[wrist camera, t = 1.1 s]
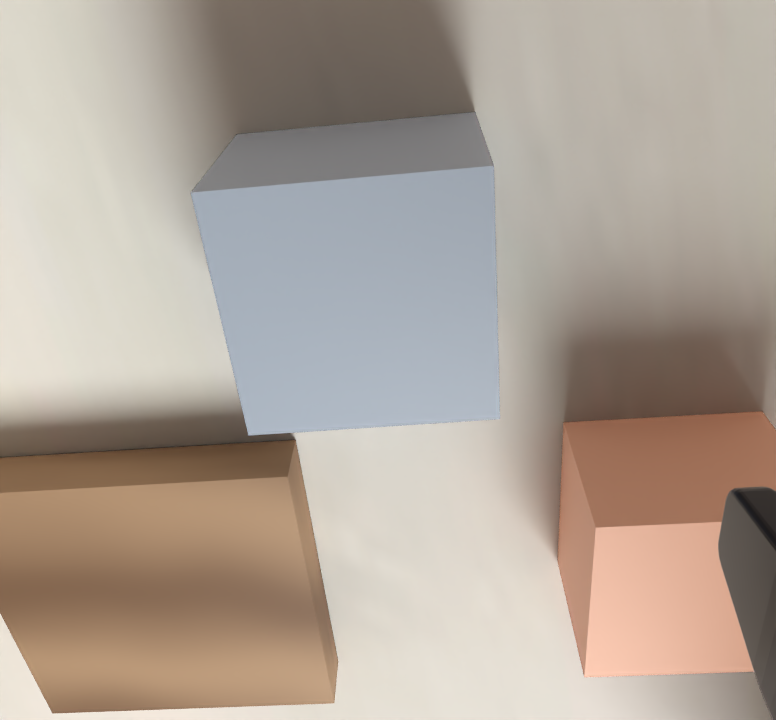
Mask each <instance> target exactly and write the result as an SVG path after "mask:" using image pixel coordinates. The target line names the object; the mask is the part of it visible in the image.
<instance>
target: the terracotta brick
mask: <svg viewBox="0 0 776 720" xmlns="http://www.w3.org/2000/svg"><path fill="white" fill-rule="evenodd" d="M762 486H763V487H769V488H771V489H773V490H775V491H776V430H775V428H774V427H773V426H772V424H771V423H770V421H769V420H768V419H767V417H766V416H765V414H764V413H763V412H762V411H758V412H740V413H722V414H705V415H687V416H669V417H651V418H633V419H615V420H597V421H579V422H563V446H562V469H561V493H560V516H559V540H558V565H559V570H560V574H561V578H562V583H563V587H564V591H565V596H566V600H567V604H568V609H569V613H570V617H571V621H572V626H573V630H574V634H575V639H576V643H577V647H578V652H579V656H580V660H581V665H582V669H583V673H584V677H609V676H639V675H669V674H699V673H728V672H754V670H753V667H752V663H751V660H750V657H749V654H748V651H747V647H746V644H745V641H744V638H743V634H742V631H741V628H740V625H739V622H738V618H737V615H736V612H735V609H734V605H733V602H732V599H731V596H730V592H729V589H728V586H727V583H726V580H725V576H724V573H723V570H722V567H721V563H720V559H719V553H718V540H719V534H720V529H721V523H722V518H723V512H724V507H725V501H726V497H727V495H728V493H729V491H731V490H732V489H734V488H743V487H762Z"/></svg>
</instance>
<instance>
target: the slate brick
mask: <svg viewBox="0 0 776 720" xmlns="http://www.w3.org/2000/svg"><path fill="white" fill-rule="evenodd" d="M191 196H192V200H193V205H194V209H195V213H196V217H197V221H198V226H199V230H200V234H201V238H202V242H203V247H204V251H205V255H206V259H207V263H208V268H209V272H210V276H211V280H212V284H213V289H214V293H215V297H216V301H217V305H218V310H219V314H220V318H221V322H222V326H223V331H224V335H225V339H226V343H227V347H228V352H229V356H230V360H231V364H232V368H233V373H234V377H235V381H236V385H237V390H238V394H239V398H240V402H241V406H242V411H243V415H244V419H245V423H246V427H247V432H248V436H249V435H264V434H279V433H295V432H310V431H325V430H340V429H356V428H371V427H386V426H401V425H417V424H432V423H447V422H462V421H478V420H493V419H500V396H499V355H498V314H497V273H496V232H495V191H494V165H493V162H492V159H491V156H490V153H489V150H488V147H487V145H486V142H485V139H484V136H483V133H482V130H481V127H480V124H479V122H478V119H477V116H476V113H475V112H468V113H458V114H447V115H436V116H426V117H415V118H404V119H394V120H383V121H372V122H362V123H351V124H340V125H330V126H319V127H309V128H298V129H287V130H277V131H266V132H255V133H245V134H236V136H235V137H234V138H233V140H232V141H231V142H230V143H229V145H228V146H227V147H226V148H225V150H224V151H223V152H222V154H221V155H220V156H219V157H218V159H217V160H216V161H215V162H214V164H213V165H212V166H211V167H210V169H209V170H208V171H207V173H206V174H205V175H204V176H203V178H202V179H201V180H200V181H199V183H198V184H197V185H196V186H195V188H194V189H193V190H192V192H191Z"/></svg>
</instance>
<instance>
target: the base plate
mask: <svg viewBox="0 0 776 720" xmlns="http://www.w3.org/2000/svg"><path fill="white" fill-rule="evenodd" d="M0 613H1V615H2V617H3V619H4V621H5V623H6V625H7V627H8V629H9V631H10V633H11V634H12V636H13V638H14V640H15V642H16V644H17V646H18V648H19V650H20V652H21V654H22V656H23V658H24V659H25V661H26V663H27V665H28V667H29V669H30V671H31V673H32V675H33V677H34V679H35V681H36V682H37V684H38V686H39V688H40V690H41V692H42V694H43V696H44V698H45V700H46V702H47V704H48V706H49V707H50V709H51V711H52V713H76V712H104V711H131V710H159V709H187V708H215V707H242V706H270V705H298V704H326V703H334V700H335V689H336V678H337V668H338V658H337V653H336V648H335V643H334V637H333V632H332V627H331V622H330V617H329V611H328V606H327V601H326V596H325V591H324V585H323V580H322V575H321V570H320V565H319V559H318V554H317V549H316V544H315V539H314V533H313V528H312V523H311V518H310V513H309V507H308V502H307V497H306V492H305V487H304V481H303V476H302V471H301V466H300V461H299V455H298V450H297V445H296V440H287V441H270V442H254V443H237V444H220V445H204V446H187V447H170V448H154V449H137V450H120V451H104V452H87V453H70V454H54V455H37V456H20V457H4V458H0Z"/></svg>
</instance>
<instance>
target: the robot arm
mask: <svg viewBox="0 0 776 720" xmlns="http://www.w3.org/2000/svg"><path fill="white" fill-rule="evenodd" d="M718 553H719V559H720V563H721V567H722V570H723V573H724V576H725V580H726V583H727V586H728V589H729V592H730V596H731V599H732V602H733V605H734V609H735V612H736V615H737V618H738V622H739V625H740V628H741V631H742V634H743V638H744V641H745V644H746V647H747V651H748V654H749V657H750V660H751V663H752V667H753V670H754V673H755V676H756V679H757V682H758V685H759V688H760V690H761V693H762V695H763V698H764V700H765V703H766V705H767V708H768V710H769V712H770V715H771V717H772V719H773V720H776V491H775V490H773V489H771V488H769V487H763V486H762V487H743V488H734V489H732V490H731V491H729V493H728V495H727V497H726V501H725V507H724V512H723V518H722V523H721V529H720V534H719V540H718Z"/></svg>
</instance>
